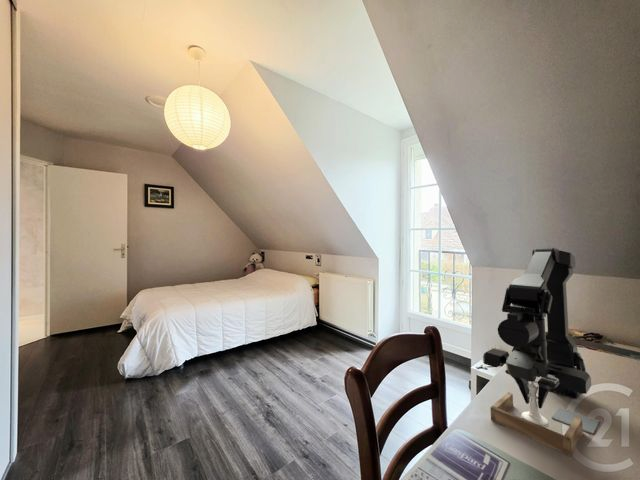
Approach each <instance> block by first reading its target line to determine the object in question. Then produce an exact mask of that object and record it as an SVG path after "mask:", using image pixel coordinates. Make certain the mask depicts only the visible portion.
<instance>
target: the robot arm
mask: <svg viewBox="0 0 640 480" xmlns="http://www.w3.org/2000/svg"><path fill="white" fill-rule="evenodd" d="M574 269H576V258H575V256H574V255H573V254H572V253H571V252H569V251H564V250H560V249H558V248H555V247H537V248H533V249H532V256H531V258H530V261H529V263H528V265H527V266H526V268H525V271H524V273H523V275H521V276H518V277H515V278H514V279H513V280H512V281H511V282H510V283H509V285H508V286H507V287H506V290H505V294H504V299H503V304H502V308H501V311H502V313H507V314H506V316H507V318H506V319H504V320H502V321H501V322H500V323H499V324H498V327H497V334H498V336H499V338H500V339H501V341H502V342H503V343H505V344H506V345H508V346H510V347H512V350H511V352H510V353H509V352H508V351H505V350H502V349H498V348H491V349H489V350H487V351H486V352H484V353H483V355H482V358H483V359H482V360H483V361H482V362H483V364H484V365H487V366H491V367H493V368H498V367H499V366H501V364H504V365H506V370H505V371H504V372H505V373H506V374H507V375H509V376H510V377H511V378H513V379H514V381H515V383H516V384H517V386H518V388H519V391H520V393H521V395H522V398H523V400H524V402H525V404H527V405H529V404H530V403H531V398H530V397H528V393H530V391H529V388H528V386H527V384H528V383H529V382H530V383H531V382H533V381H535V380H537V378H540V379H538V380H537V383H536V384H537V386H538V390H537V395H538V399H537V407H538V409H542V408H543V406H544V404H545V401H546V399H547V396H548V394H549V392H552V393H553V392H554V393H556V394H559V395H562V396H566V397H569V398H572V399H576V400H577V399H578V397H579V396H580V395H581V394H584V395H586V394H588V392H589V391H590V388H591V387H592V377H591V375H590V374H589V373H588V372H587V371H586V364H585V361H584V359H583V358H582V354H581V353H580V352H578V345H577V343H576V342H575V341H574V339H573V338H572V336H570V332H569V315H568V298H567V297H568V296H567V282H568V281H569V279H570V278H572V276H573V274H574ZM511 304H512V305H511ZM545 318H546V319H545ZM546 321H547V323H546ZM546 325H547V333H546Z"/></svg>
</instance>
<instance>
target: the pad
mask: <svg viewBox="0 0 640 480" xmlns="http://www.w3.org/2000/svg"><path fill="white" fill-rule="evenodd" d="M575 417H578V418H581V419H582V428H583V432H586V433H589V434H591V435H594V434H595V432H596V430H597V428H598V426H599V423H600V420H599V419H596V418H593V417H589V416H587V415H584V414H582V413H578V412H575V411H572V410H570V409H567V408H564V407H561V406H559V407H558V408H557V409H556V411H555V412H554V413H553V415H552V416H551V419H553V420H555V421H557V422H560V423H563V424H565V425H567V426H570V425H571V423H572V422H573V420H574V419H575Z"/></svg>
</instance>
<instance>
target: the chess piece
mask: <svg viewBox="0 0 640 480" xmlns="http://www.w3.org/2000/svg"><path fill="white" fill-rule="evenodd" d="M537 381H538V380H537V379H536V380H535V381H533V382H530V383H528V384H527V386H528V388H529V392H530V393H528V397H530V402H529V404H530V406H529V410H528V411H524V412H522V413H521V416H520V417H521V418H523V419H525V420H528V421H530V422H533V423H535V424H537V425H540V426H542V427H545V428H547V429H548V428H549V427H550V426H549V421H548V419H547V418H546V417H544V416H543V415H542V414H541V413H540V412H539V407H538V390H539V386H538V383H537ZM535 383H536V384H535Z"/></svg>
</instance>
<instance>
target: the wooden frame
mask: <svg viewBox="0 0 640 480" xmlns="http://www.w3.org/2000/svg"><path fill="white" fill-rule="evenodd" d="M512 407H514V396H513V393H511V392H507V393H506V394H504V395H503V396H502V397H501V398H499V399H498V400H497V401H496V402H495V403H494V404H492V405H491V406H490V420H491V421H492V422H494V423H496V424H499V425H501V426H504V427H506V428H508V429H509V430H512V431H514V432H516V433H518V434H520V435H523V436H525V437H527V438H529V439H532V440H534V441H537V442H539V443H540V444H543V445H545V446H546V447H550V448H551V449H554V450H555V451H558V452H560V453H563V454H564V455H567V456H570V457H571V456H572V455H573V453H574V450H575V448H576V447H577V445H578V443H579V441H580V440H581V438H582V435H583V433H584V431H583V428H582V419H581V418H578V417H575V419H574V420H573V422H572V423H571V425H569V427H568V428H567V431H566V432H565V433H564V434H562V433H559V432H557V431H554V430H552V429H549V428H548V427H547V428H545V427H542V426H540V425H537V424H535V423H533V422H530V421H528V420H525V419H523V418H521V416H518V415H515V414H514V413H511V412H509V410H510V409H512Z"/></svg>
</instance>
